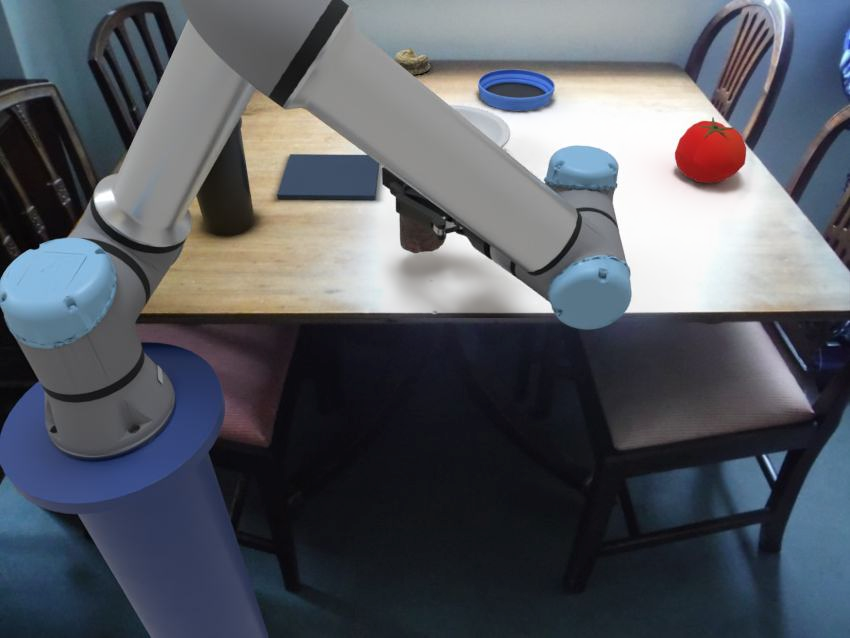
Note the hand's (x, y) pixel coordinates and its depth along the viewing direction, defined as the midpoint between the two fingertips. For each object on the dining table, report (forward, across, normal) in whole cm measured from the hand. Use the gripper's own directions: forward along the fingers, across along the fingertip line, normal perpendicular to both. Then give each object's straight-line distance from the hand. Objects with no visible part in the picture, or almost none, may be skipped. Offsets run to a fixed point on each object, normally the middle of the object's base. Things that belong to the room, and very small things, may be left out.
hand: (405, 168), depth 100 cm
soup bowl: (+21, +26, -15) cm, 36 cm away
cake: (+65, +49, -15) cm, 83 cm away
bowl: (+36, +59, -15) cm, 70 cm away
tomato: (-14, +62, -15) cm, 65 cm away
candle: (-5, 0, -11) cm, 12 cm away
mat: (+28, +3, -15) cm, 32 cm away
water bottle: (+25, -20, -16) cm, 36 cm away
